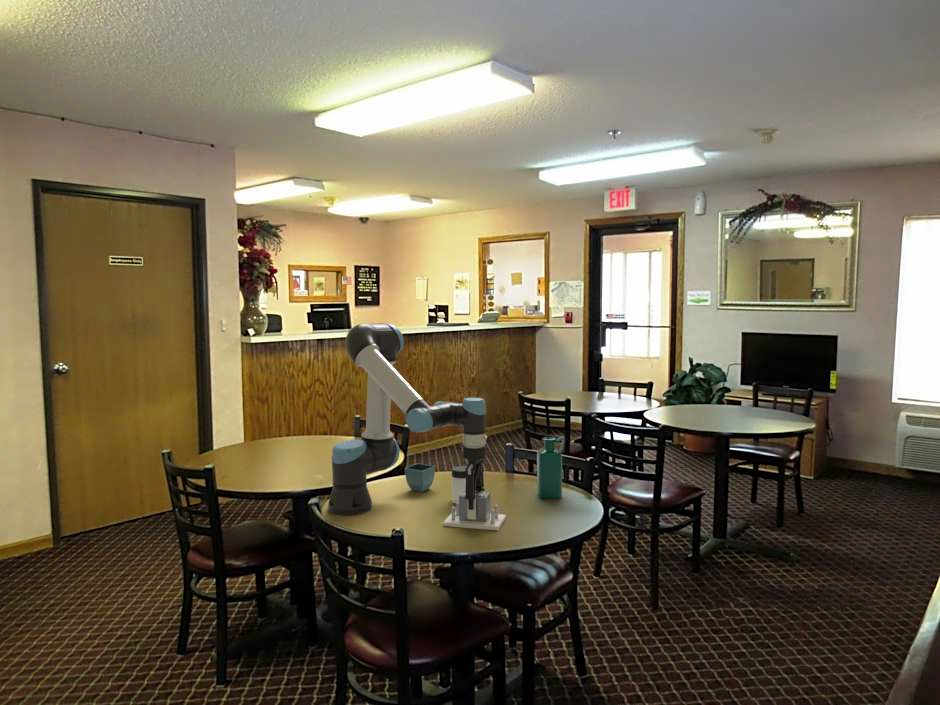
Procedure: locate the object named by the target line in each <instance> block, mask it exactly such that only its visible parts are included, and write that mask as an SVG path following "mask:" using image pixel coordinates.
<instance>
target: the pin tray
mask: <svg viewBox="0 0 940 705" xmlns="http://www.w3.org/2000/svg"><path fill="white" fill-rule="evenodd" d="M506 519H507V514H500V513H499V505H498V504H495V505H494V509H490V518H489V519H488V520H487V522H475V521H462V520H459V502H456V503H455V506H451V513H450V514H449V515H448V516H447V518H445V520H444V521H443V523H442V525H443V527H451V528H453V527H454V528H465V529H477V530H487V531H499V529H500V528H501V527H502V526H503V524H504V522H505V521H506Z"/></svg>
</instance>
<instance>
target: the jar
mask: <svg viewBox="0 0 940 705" xmlns="http://www.w3.org/2000/svg"><path fill="white" fill-rule="evenodd" d="M466 468H467V465H457V466H454V467H451V500H452V504H456V502H459V495H460V494H461V493H462V492H463V491H466V470H465V469H466Z"/></svg>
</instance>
